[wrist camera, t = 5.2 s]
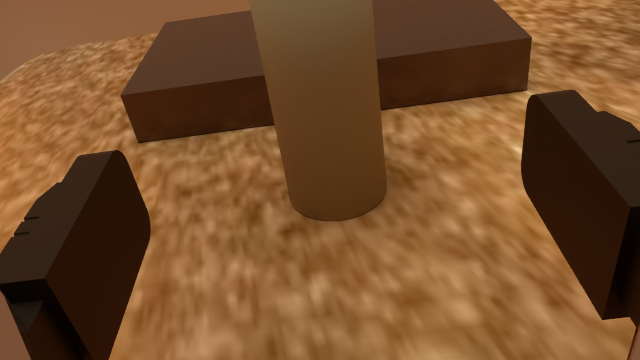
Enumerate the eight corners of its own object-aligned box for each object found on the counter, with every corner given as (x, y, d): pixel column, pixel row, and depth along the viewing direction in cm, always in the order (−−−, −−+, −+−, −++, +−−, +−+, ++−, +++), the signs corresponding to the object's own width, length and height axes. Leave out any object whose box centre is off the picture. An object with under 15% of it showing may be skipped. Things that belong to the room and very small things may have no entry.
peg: (405, 179, 24) (386, -196, 16) (345, 233, 22) (287, -178, 14) (331, 153, 27) (283, -180, 19) (270, 199, 24) (184, -163, 16)
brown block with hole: (469, 19, 39) (470, -22, 38) (526, 89, 29) (531, 37, 28) (177, 61, 40) (165, 22, 39) (138, 142, 31) (120, 95, 29)
